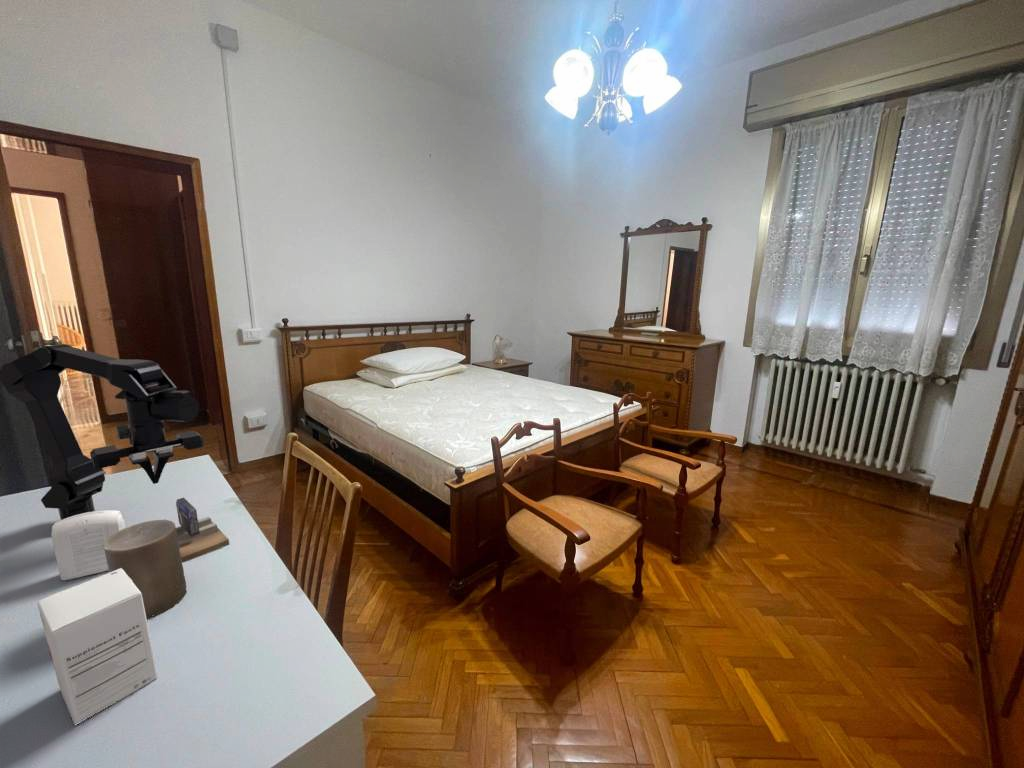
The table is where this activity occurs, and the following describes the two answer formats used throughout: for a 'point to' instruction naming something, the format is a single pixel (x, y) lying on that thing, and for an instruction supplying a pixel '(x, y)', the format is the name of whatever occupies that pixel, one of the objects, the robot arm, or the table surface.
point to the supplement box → (98, 642)
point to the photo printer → (84, 542)
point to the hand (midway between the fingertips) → (155, 483)
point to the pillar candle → (149, 562)
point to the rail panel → (200, 540)
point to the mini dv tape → (187, 517)
